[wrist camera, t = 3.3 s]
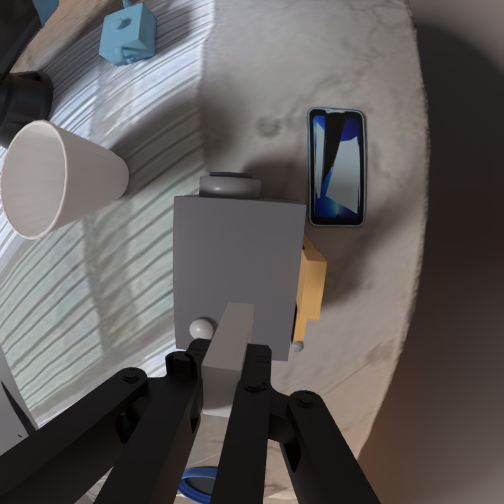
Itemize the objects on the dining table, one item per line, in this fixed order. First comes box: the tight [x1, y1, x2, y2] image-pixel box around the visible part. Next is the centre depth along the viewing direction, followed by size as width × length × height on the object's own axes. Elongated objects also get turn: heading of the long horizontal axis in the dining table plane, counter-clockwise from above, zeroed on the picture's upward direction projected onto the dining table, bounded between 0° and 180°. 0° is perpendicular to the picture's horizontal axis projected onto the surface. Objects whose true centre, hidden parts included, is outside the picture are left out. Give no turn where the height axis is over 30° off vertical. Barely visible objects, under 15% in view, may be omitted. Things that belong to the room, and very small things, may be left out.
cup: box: [0, 120, 129, 240], centre depth 28 cm, size 12×12×16 cm
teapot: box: [99, 0, 157, 67], centre depth 27 cm, size 12×6×8 cm, turn 4°
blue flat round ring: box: [178, 467, 217, 504], centre depth 48 cm, size 18×18×4 cm
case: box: [173, 172, 306, 361], centre depth 31 cm, size 18×12×11 cm, turn 176°
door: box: [291, 234, 327, 352], centre depth 29 cm, size 11×2×14 cm, turn 176°
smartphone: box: [307, 107, 366, 227], centre depth 33 cm, size 7×1×15 cm
